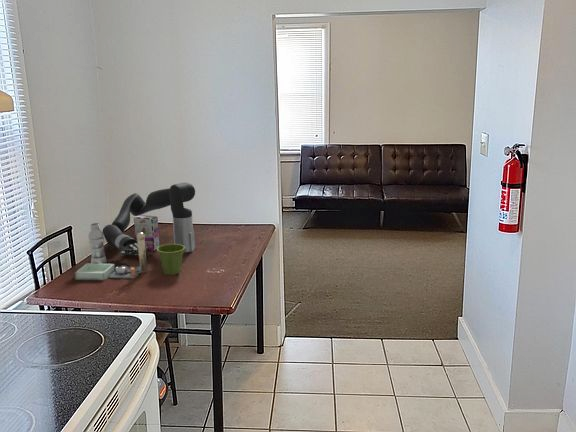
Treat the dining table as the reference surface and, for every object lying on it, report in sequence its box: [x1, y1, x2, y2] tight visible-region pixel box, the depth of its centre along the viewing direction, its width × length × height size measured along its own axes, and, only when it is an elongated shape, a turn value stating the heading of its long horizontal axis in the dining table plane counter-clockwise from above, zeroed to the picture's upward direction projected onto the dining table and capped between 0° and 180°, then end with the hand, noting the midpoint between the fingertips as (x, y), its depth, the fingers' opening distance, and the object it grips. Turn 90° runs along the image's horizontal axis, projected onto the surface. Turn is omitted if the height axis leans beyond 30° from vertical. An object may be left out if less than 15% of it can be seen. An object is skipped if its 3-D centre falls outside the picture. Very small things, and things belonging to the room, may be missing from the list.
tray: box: [74, 262, 116, 281], centre depth 234 cm, size 13×12×3 cm
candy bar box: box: [133, 214, 161, 252], centre depth 269 cm, size 11×5×16 cm, turn 68°
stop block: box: [131, 267, 135, 275], centre depth 233 cm, size 2×3×3 cm, turn 18°
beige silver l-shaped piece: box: [115, 232, 148, 274], centre depth 234 cm, size 13×5×17 cm, turn 106°
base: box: [108, 269, 142, 279], centre depth 235 cm, size 11×8×1 cm
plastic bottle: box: [87, 222, 108, 264], centre depth 242 cm, size 6×7×20 cm
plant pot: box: [156, 243, 185, 276], centre depth 236 cm, size 12×12×11 cm
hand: (143, 254), depth 237 cm, fingers closed
